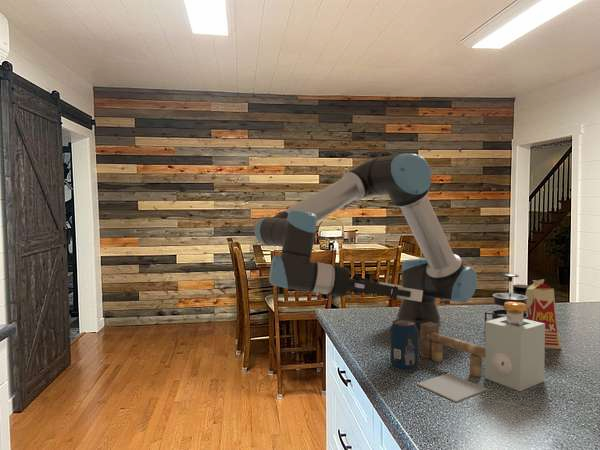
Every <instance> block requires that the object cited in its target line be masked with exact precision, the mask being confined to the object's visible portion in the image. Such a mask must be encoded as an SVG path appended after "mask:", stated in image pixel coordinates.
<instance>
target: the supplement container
mask: <svg viewBox="0 0 600 450" xmlns="http://www.w3.org/2000/svg"><path fill="white" fill-rule="evenodd" d="M530 286H531V285H528V284H519V283H518V284H513V285H512V293H514V294H521V295H526V290H527V288H529V287H530Z"/></svg>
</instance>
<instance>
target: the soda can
mask: <svg viewBox="0 0 600 450" xmlns="http://www.w3.org/2000/svg"><path fill="white" fill-rule="evenodd" d="M415 324H416V323H415V322H414V321H412V320H407V319H397V318H396V319H394V320H392V324H391V327H390V364H391V366H392V367H393V368H394V369H395V370H397V371H400V372H412V371H414V370H415V369H416V368H417V367H418V364H419V328H417V326H416V325H415Z"/></svg>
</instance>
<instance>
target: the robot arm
mask: <svg viewBox="0 0 600 450" xmlns="http://www.w3.org/2000/svg"><path fill="white" fill-rule="evenodd" d="M431 176H432V170H431V167H430V165H429V163H428V161H427V160H426V159H425V158H424V157H422V156H421V155H420V154H417V153H399V154H393V155H388V156H378V157H374V158H371V159H369V160H366V161H365V162H363V163H361V164H359V165H357V166H355V167H354V168H352V169H349V170H348V171H346V172H344V174H342V176H341V179H339V180H337V181H336V182H334V183H332V184H329V185H328V186H326V187H325V188H322V189H321V190H319V191H317V192H316V193H313V194H312V195H310V196H308V197H307V198H304V199H303V200H301V201H299V202H298V203H295V204H294V205H292V206H290V207H289V208H286V209H285V210H283V211H281V212H280V213H278V214H275V215H274V216H272V217H270V216H269V217H264V218H261V219H259V220H258V221H257V222H256V224H255V225H254V226H255V227H254V235H255V236H254V237H255V238H256V239H257V241H258V242H259V243H261V244H264V245H267V246H269V247H270V246H273V247H274V246H275V247H282V248H281V253H280V255H274V256H273V257H272V259H271V263H270V267H269V275H268V281H269V284H271V286H274V287H280V288H284V289H288V290H296V291H302V292H311V293H315V296H319V295H320V294H323V295H328V294H329V295H330V296H334V297H339V298H340V297H341V298H342V297H343V298H344V297H345V296H346V295H347V293H348V289H350V292H353V293H358V294H360V293H362V294H366V295H369V294H374V295H378V296H385V297H389V298H392V301H397V299H401V303H400V306H399V308H398V312H397V314H396V320H397V319H407V320H412V321H414V322H415V323H416V324H415V325H416V326H417V328H418V329H421V324H423V323H427V322H433V323H436V324H439V326H441V323H442V322H441V320H442V319H441V316H440V312H439V309H438V306H437V302H436V299H441V300H444V301H450V302H453V303H466V302H468V301H469V300H471V298H472V297H473V296H474V294H475V291H476V289H477V284H478V277H477V273H476V270H475V269H474V268H472V267H470V266H465V264H464V261H463V260H462V259H461V257H460V256H459V255H458V254H455V253H454V252H453V250H452V248H451V246H450V243H449V241H448V239H447V237H446V234H445V232H444V230H443V228H442V226H441V223H440V222H439V219H438V217H437V215H436V212H435V210H434V207H433V206H432V204H431V201H430V199H429V197H428V195H429V193H430V189H431V188H430V186H431V184H432V180H433V179H432V178H431ZM380 195H381V196H382V195H383V196H385V195H386V196H388V197H389V199H390V201H391V203H392V205H393V206H394V207H396V208H400V209H401V212H402V214H403V216H404V218H405V220H406V222H407V225H408V226H409V228H410V230H411V232H412V234H413V236H414V239H415V241H416V243H417V244H418V247H419V248H420V251H421V253H422V255H423V257H422V258H410V259H405V260H403V262H402V264H401V272H400V273H401V284H400V285H399V284H394V283H387V282H382V281H379V279H378V278H373V280H372V279H368V278H365V277H364V278H363V277H362V276H358V275H357V276H356V275H353V276H352V277H350V270H349V268H348V267H345V266H340V265H334V266H333V265H332V264H329V263H323V262H318V261H317V262H316V261H312V260H311V259H312V252H313V248H314V242H315V238H316V237H315V236H316V233H317V223H318V222H319V221H321V220H323V219H324V218H326V217H327V216H330V215H331V214H333V213H335V212H336V211H338V210H339V209H341V208H343V207H344V206H346V205H348V204H350V203H351V202H353V201H355V202H357V201H358V202H359V201H362V200H363V199H365V198H367V197H372V196H380Z"/></svg>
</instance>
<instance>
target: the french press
mask: <svg viewBox="0 0 600 450" xmlns="http://www.w3.org/2000/svg"><path fill="white" fill-rule="evenodd" d="M501 276H503V277H507V280H508V282H509V292H497V293H493V294H492V297H493V301H494V302H493V303H494V304H495V305H497V306H501V307H504V303H505V302H520V303H525V301H526V300H528V297H527V296H525V295H521V294H514V293H513V292H512V282H513V278H519V276H520V275H518V274H516V273H503V274H501ZM487 314H488V315H491V316H492V317H491V320H493V319H497V318H501V317H505V315H507V310H506V309H495V310H492V311H487V310H486V311H485V312H484V323H485V322H486V321H488V320H487V317H488V315H487ZM503 315H504V316H503ZM523 319H527V320H528V314H526V313H524V312H523ZM483 341H484V342H485V337H484V340H483Z"/></svg>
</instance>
